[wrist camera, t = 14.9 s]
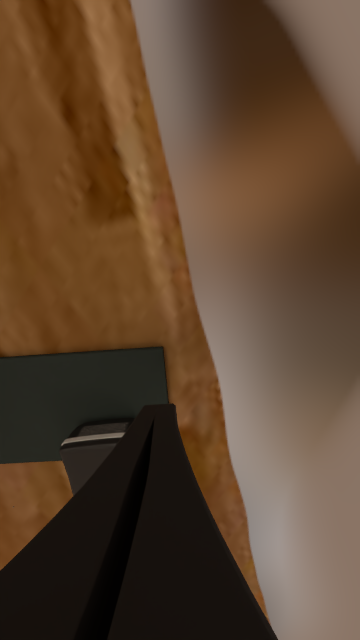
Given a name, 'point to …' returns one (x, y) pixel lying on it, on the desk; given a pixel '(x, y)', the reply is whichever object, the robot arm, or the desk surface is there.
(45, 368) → the mat
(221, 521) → the desk surface
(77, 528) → the robot arm
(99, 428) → the battery charger
